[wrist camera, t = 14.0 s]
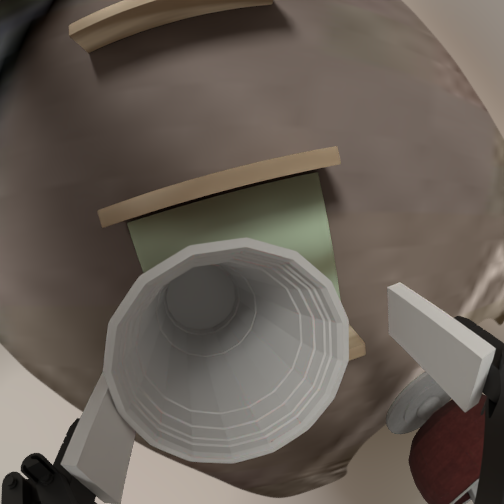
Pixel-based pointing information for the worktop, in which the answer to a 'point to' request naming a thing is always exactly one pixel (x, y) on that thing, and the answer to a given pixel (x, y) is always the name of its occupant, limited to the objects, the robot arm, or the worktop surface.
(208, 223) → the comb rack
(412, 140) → the worktop surface
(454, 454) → the mate gourd
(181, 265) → the plastic cup
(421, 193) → the worktop surface
